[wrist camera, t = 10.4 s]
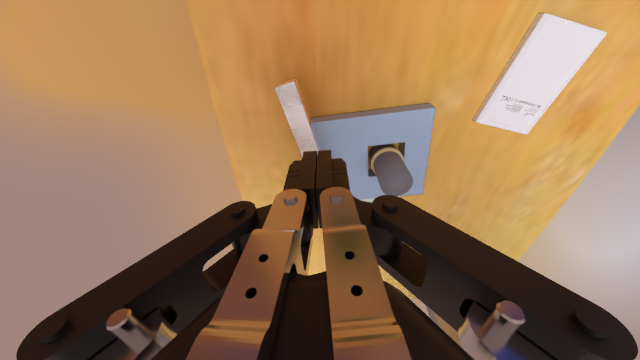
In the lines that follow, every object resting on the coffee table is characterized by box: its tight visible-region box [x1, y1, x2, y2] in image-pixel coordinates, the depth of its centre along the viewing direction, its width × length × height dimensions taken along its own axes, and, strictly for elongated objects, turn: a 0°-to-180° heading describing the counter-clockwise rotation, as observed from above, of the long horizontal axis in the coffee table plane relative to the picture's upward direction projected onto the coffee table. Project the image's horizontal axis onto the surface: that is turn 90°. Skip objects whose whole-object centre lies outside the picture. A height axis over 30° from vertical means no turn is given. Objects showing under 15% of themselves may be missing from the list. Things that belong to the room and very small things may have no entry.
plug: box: [370, 144, 413, 196], centre depth 32 cm, size 5×5×8 cm
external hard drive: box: [473, 13, 607, 134], centre depth 29 cm, size 2×8×12 cm
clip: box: [275, 78, 321, 158], centre depth 24 cm, size 4×16×2 cm, turn 17°
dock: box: [311, 103, 435, 200], centre depth 32 cm, size 14×16×9 cm
